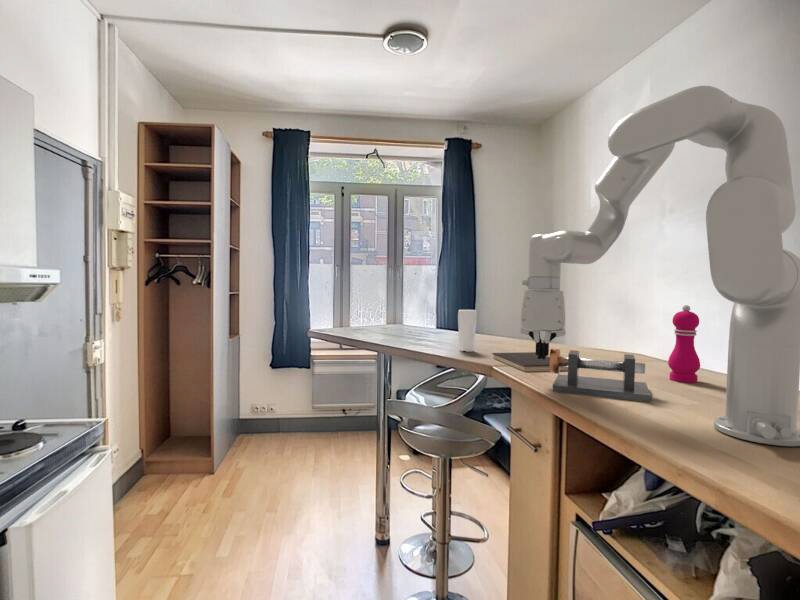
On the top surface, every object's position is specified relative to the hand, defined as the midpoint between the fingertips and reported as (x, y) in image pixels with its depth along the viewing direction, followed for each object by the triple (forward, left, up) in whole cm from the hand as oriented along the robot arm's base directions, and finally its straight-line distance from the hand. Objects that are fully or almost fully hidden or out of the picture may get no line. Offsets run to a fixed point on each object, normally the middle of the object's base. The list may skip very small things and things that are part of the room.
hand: (541, 358), depth 112 cm
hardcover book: (+28, +7, -7) cm, 30 cm away
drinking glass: (+43, +32, -7) cm, 54 cm away
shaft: (0, -12, -3) cm, 13 cm away
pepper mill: (+23, -33, -7) cm, 41 cm away
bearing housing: (0, -13, -6) cm, 15 cm away
